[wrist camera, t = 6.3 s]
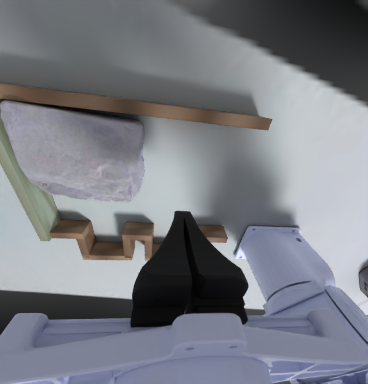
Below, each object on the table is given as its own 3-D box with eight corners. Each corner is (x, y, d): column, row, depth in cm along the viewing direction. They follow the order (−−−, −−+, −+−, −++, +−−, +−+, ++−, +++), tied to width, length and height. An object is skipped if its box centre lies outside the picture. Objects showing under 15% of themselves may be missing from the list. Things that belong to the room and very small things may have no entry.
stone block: (146, 185, 22) (147, 111, 16) (139, 211, 19) (136, 129, 12) (58, 174, 21) (18, 88, 14) (33, 199, 18) (-36, 101, 11)
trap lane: (259, 116, 17) (275, 119, 14) (215, 248, 28) (219, 264, 25) (-4, 82, 14) (-45, 78, 11) (64, 245, 25) (52, 262, 22)
